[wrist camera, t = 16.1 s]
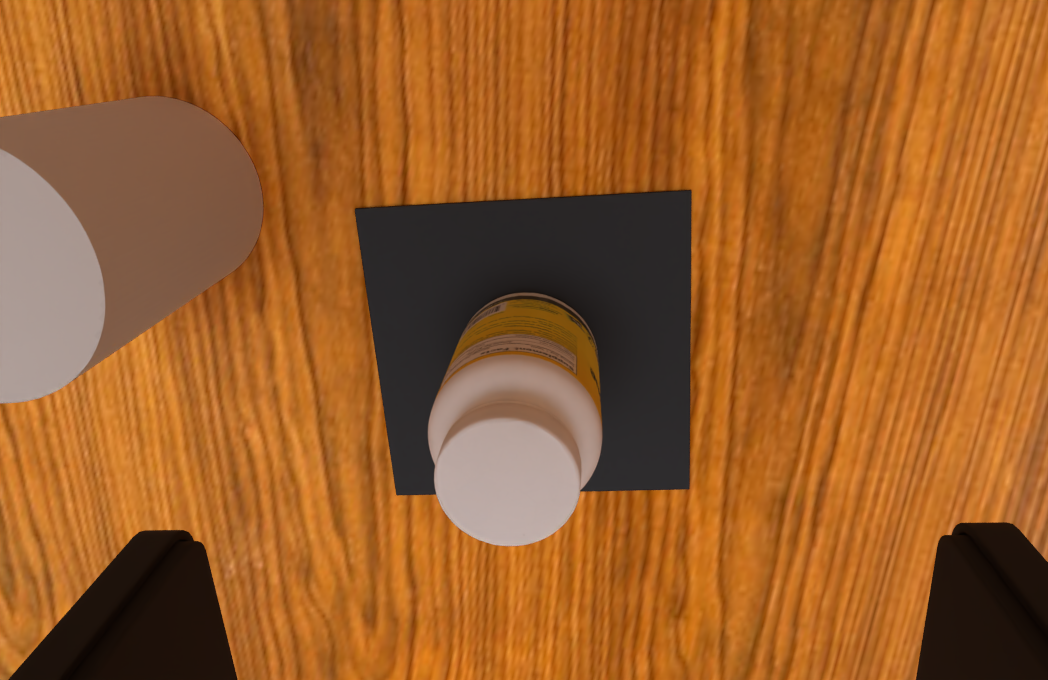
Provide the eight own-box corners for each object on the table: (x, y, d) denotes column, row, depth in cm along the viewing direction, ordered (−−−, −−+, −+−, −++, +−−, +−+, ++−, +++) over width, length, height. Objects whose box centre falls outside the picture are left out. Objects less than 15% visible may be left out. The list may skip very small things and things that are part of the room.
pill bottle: (572, 433, 36) (567, 591, 26) (444, 393, 36) (388, 536, 26) (619, 313, 34) (633, 433, 24) (482, 269, 34) (437, 371, 24)
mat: (397, 493, 38) (396, 495, 38) (355, 208, 33) (354, 208, 33) (689, 487, 37) (689, 489, 37) (690, 190, 32) (691, 190, 32)
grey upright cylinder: (38, 163, 34) (-233, 227, 23) (178, 56, 32) (-42, 68, 21) (162, 317, 36) (-28, 445, 25) (301, 227, 34) (162, 321, 23)
